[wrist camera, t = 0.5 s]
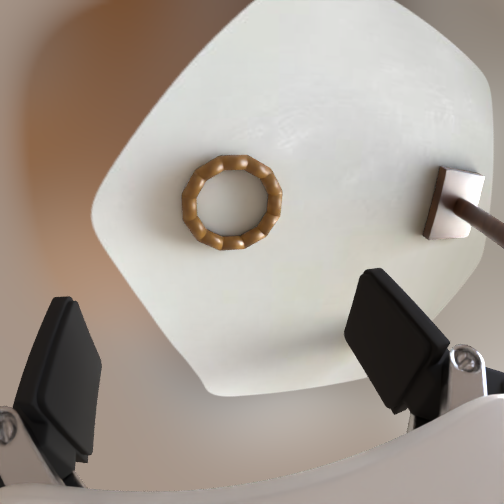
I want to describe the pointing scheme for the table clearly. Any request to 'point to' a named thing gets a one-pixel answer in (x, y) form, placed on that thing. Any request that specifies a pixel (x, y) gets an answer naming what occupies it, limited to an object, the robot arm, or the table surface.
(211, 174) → the ring
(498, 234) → the post
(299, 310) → the table surface
